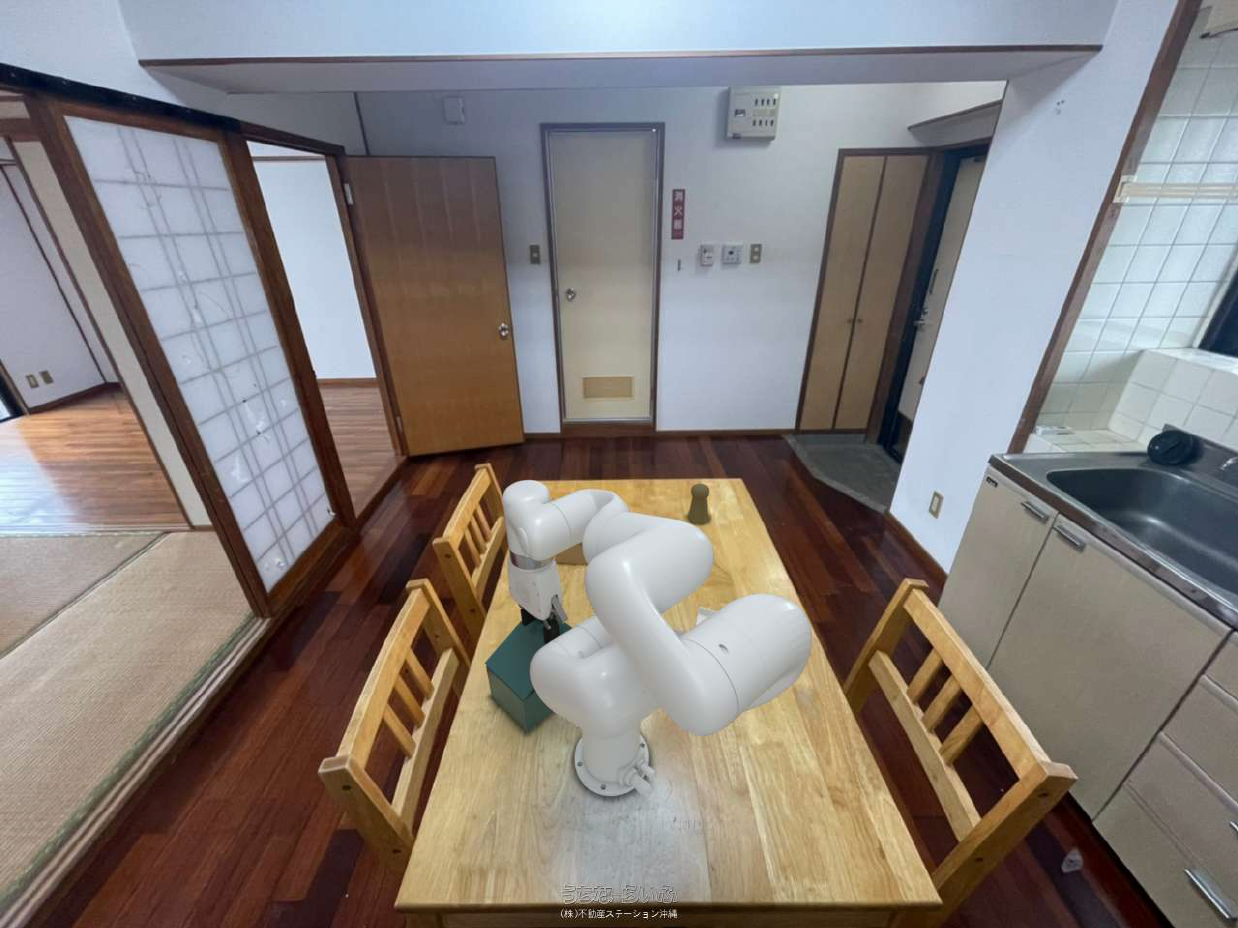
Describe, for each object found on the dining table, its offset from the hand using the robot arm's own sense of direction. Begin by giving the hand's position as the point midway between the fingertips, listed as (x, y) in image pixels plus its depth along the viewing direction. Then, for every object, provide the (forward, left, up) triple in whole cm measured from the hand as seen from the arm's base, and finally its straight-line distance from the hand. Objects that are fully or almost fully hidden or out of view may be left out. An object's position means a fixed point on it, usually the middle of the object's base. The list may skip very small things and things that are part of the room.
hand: (540, 629), depth 95 cm
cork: (+12, -68, -15) cm, 70 cm away
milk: (-25, -19, -15) cm, 34 cm away
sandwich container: (+25, -33, -15) cm, 44 cm away
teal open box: (0, +2, -14) cm, 15 cm away
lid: (0, +2, -3) cm, 4 cm away
